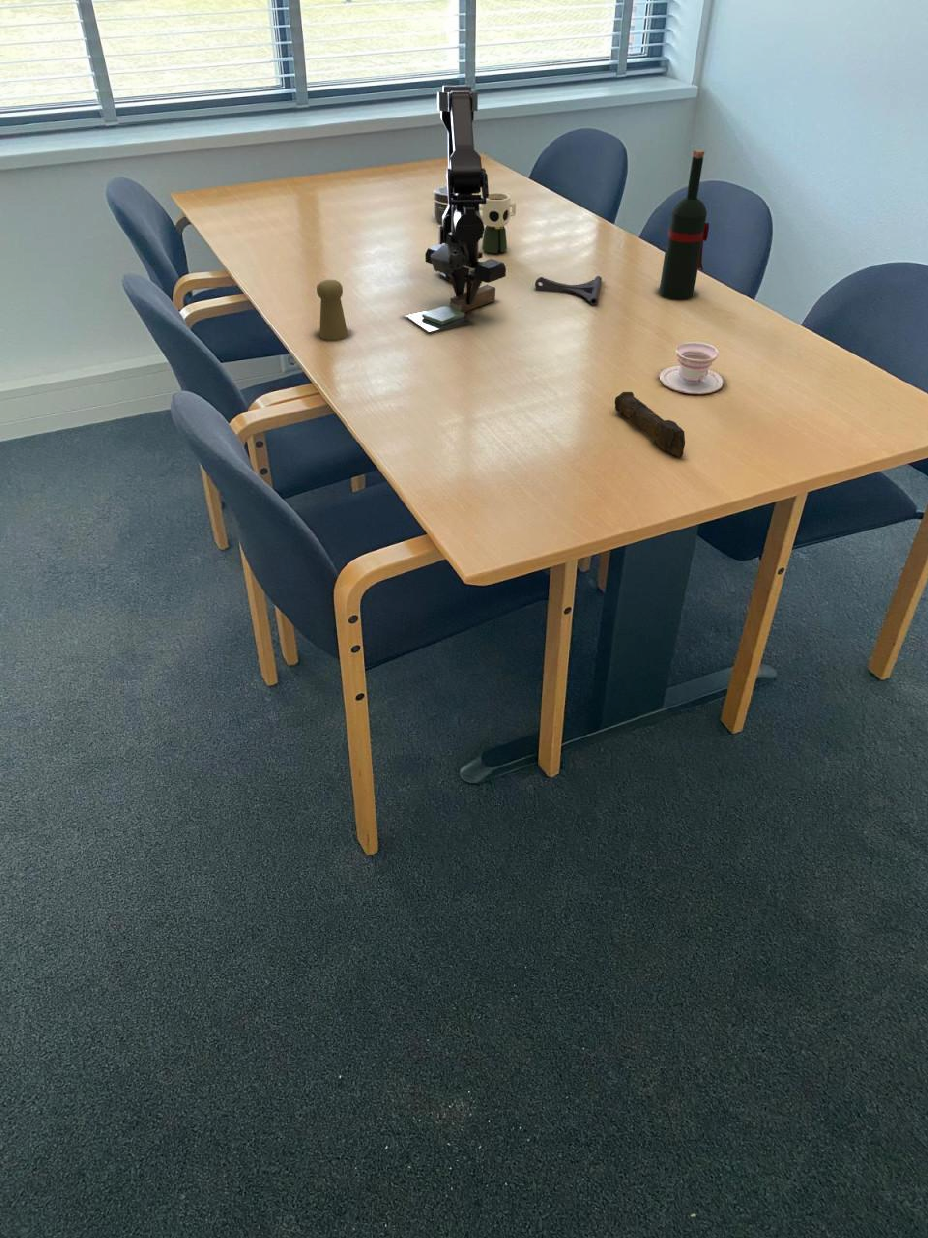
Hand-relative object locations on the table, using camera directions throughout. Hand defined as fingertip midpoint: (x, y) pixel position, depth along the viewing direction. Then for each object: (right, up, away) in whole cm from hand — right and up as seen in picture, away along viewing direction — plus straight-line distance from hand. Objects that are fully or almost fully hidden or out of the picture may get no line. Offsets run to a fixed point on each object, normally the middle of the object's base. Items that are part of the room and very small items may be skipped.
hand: (464, 302), depth 200 cm
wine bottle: (+50, +6, +11) cm, 51 cm away
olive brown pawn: (-27, -10, -9) cm, 31 cm away
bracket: (+24, +6, +11) cm, 27 cm away
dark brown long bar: (+33, -37, -41) cm, 64 cm away
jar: (-3, +40, +51) cm, 65 cm away
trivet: (-6, -5, -3) cm, 8 cm away
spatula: (-1, -1, +1) cm, 2 cm away
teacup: (+43, -24, -25) cm, 55 cm away
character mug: (+8, +24, +32) cm, 41 cm away
